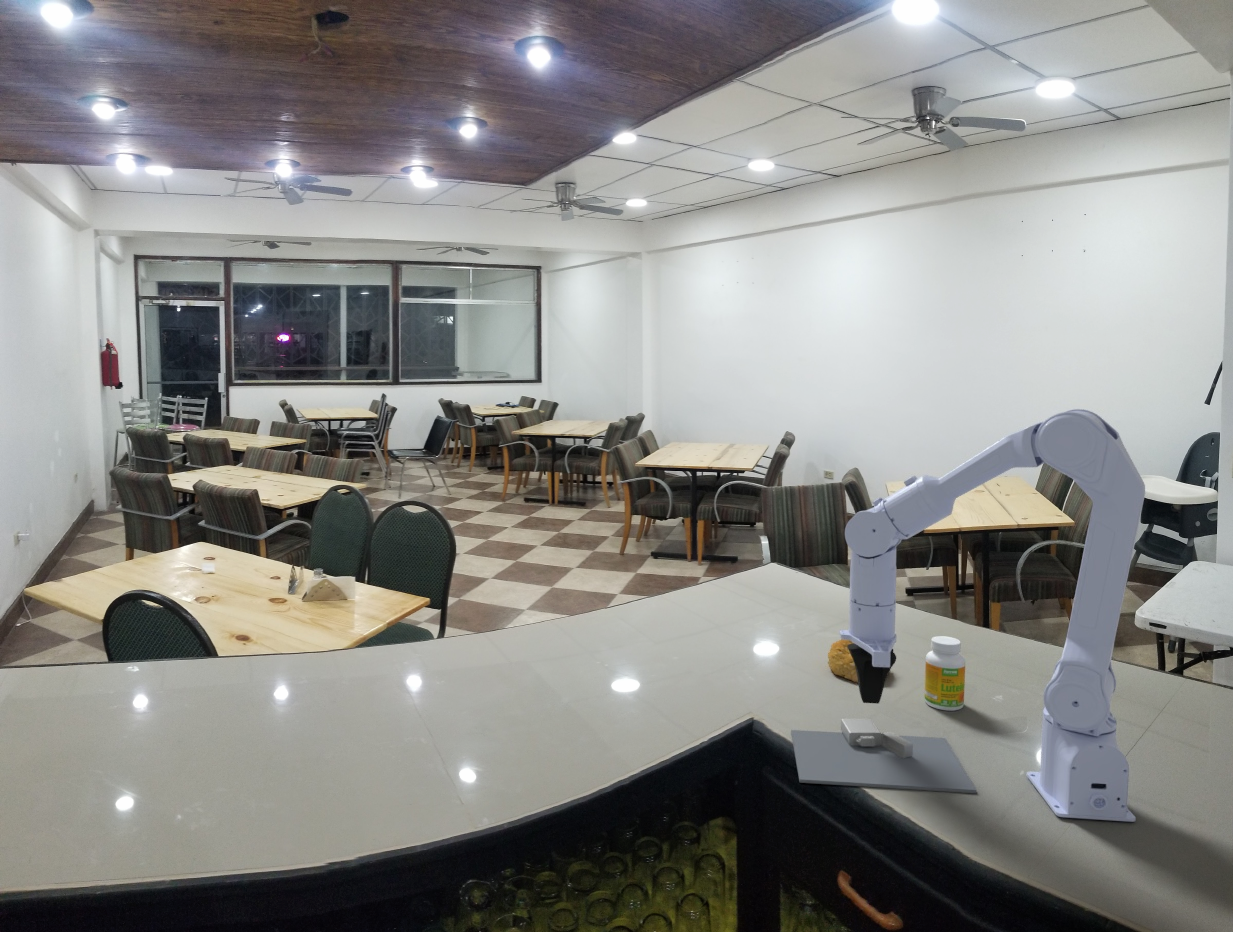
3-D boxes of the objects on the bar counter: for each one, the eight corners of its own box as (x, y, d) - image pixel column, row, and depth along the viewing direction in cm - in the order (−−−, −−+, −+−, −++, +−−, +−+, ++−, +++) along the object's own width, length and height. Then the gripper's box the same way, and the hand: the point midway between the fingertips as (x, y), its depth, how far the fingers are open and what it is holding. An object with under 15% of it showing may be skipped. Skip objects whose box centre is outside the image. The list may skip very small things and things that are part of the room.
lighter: (840, 730, 106) (857, 758, 98) (840, 718, 106) (857, 745, 98) (893, 730, 106) (914, 758, 98) (893, 718, 106) (914, 745, 98)
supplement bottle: (940, 713, 112) (942, 647, 111) (916, 699, 118) (918, 636, 117) (972, 708, 114) (974, 644, 113) (947, 694, 119) (949, 632, 118)
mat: (976, 793, 91) (976, 789, 91) (799, 782, 94) (799, 779, 93) (945, 740, 104) (945, 737, 104) (791, 732, 107) (791, 729, 107)
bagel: (829, 682, 125) (830, 653, 124) (826, 659, 135) (827, 632, 135) (894, 688, 123) (896, 658, 122) (886, 664, 133) (887, 637, 133)
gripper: (833, 585, 110) (832, 679, 111) (848, 615, 95) (846, 722, 97) (886, 586, 109) (883, 681, 110) (909, 617, 94) (906, 725, 96)
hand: (870, 701), depth 103 cm, fingers closed
